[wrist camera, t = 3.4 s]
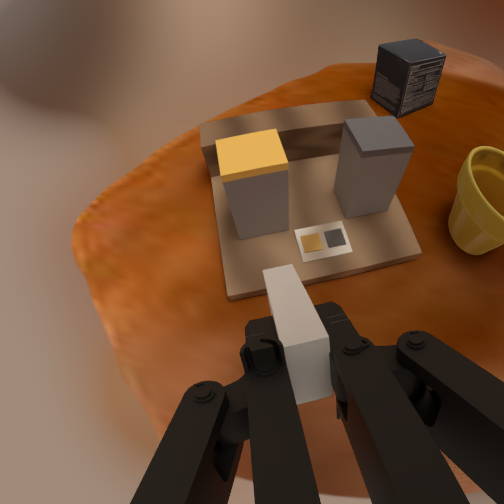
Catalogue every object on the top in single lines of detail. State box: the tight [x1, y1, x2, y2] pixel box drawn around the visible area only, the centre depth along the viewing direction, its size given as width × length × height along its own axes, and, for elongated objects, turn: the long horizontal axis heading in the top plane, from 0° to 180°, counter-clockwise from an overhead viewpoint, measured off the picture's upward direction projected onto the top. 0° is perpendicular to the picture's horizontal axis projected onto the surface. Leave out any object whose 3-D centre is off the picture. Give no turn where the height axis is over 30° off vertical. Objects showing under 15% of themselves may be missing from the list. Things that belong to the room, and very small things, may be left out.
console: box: [199, 100, 422, 301], centre depth 31 cm, size 20×19×6 cm
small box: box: [371, 39, 446, 118], centre depth 36 cm, size 11×6×10 cm, turn 121°
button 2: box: [215, 129, 289, 240], centre depth 27 cm, size 5×4×10 cm
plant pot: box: [448, 146, 504, 255], centre depth 25 cm, size 10×10×10 cm
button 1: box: [334, 116, 415, 219], centre depth 27 cm, size 5×4×10 cm
